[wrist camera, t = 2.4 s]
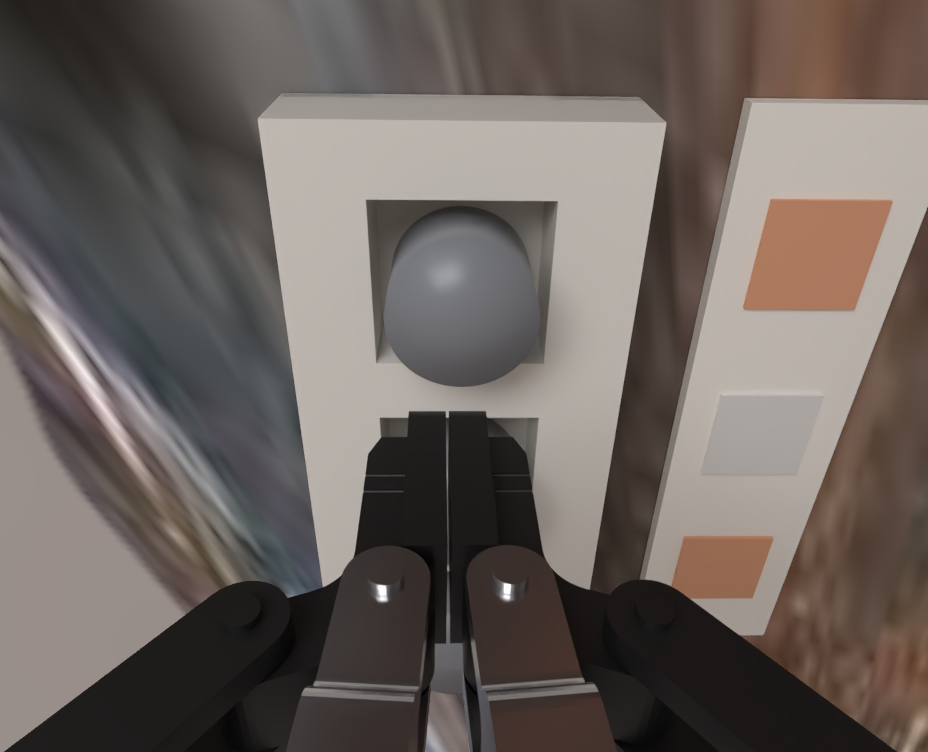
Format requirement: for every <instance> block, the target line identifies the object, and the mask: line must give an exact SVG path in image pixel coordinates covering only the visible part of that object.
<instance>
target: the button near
mask: <svg viewBox="0 0 928 752" xmlns="http://www.w3.org/2000/svg"><path fill="white" fill-rule="evenodd" d="M539 327H540V307H539V302H538V297H537V293H536V289H535V284H534V280H533V276H532V271H531V267H530V263H529V258H528V255H527V251H526V248H525V246H524V244H523V241H522V240H521V238H520V237H519V235H518V233H517V232H516V231H515V230H514V229H513V228H512V226H510V225H509V224H508V223H507V222H506V221H505V220H503V219H502V218H500V217H499V216H497V215H495V214H493V213H491V212H489V211H486V210H483V209H480V208H476V207H470V206H452V207H446V208H442V209H438V210H435V211H433V212H431V213H428V214H426V215H425V216H423V217H421V218H420V219H418V220H417V221H416V222H415V223H413V224H412V225H411V226H410V227H409V228H408V229H407V230H406V232H405V233H404V234H403V236H402V237H401V239H400V240H399V242H398V245H397V247H396V249H395V252H394V255H393V261H392V267H391V273H390V279H389V285H388V291H387V297H386V303H385V309H384V328H385V333H386V336H387V340H388V342H389V344H390V346H391V348H392V350H393V352H394V353H395V355H396V356H397V357H398V359H399V360H400V361H401V362H402V363H403V364H404V365H405V366H406V367H407V368H408V369H410V370H411V371H412V372H414V373H415V374H417V375H418V376H420V377H422V378H424V379H426V380H429V381H431V382H434V383H437V384H441V385H446V386H452V387H471V386H477V385H482V384H486V383H489V382H492V381H494V380H497V379H499V378H501V377H503V376H505V375H507V374H508V373H509V372H511V371H512V370H514V369H515V368H516V367H517V366H518V365H519V364H520V363H522V361H523V360H524V359H525V358H526V357H527V356H528V354H529V352H530V351H531V349H532V348H533V346H534V344H535V341H536V339H537V336H538V333H539Z"/></svg>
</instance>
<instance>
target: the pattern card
mask: <svg viewBox="0 0 928 752" xmlns="http://www.w3.org/2000/svg"><path fill="white" fill-rule="evenodd" d="M927 207H928V100H869V99H780V98H744V103H743V107H742V112H741V117H740V121H739V126H738V130H737V135H736V139H735V144H734V149H733V153H732V158H731V162H730V167H729V171H728V176H727V181H726V185H725V190H724V194H723V199H722V203H721V208H720V213H719V217H718V222H717V226H716V231H715V236H714V240H713V245H712V249H711V254H710V258H709V263H708V268H707V272H706V277H705V281H704V286H703V290H702V295H701V300H700V304H699V309H698V313H697V318H696V322H695V327H694V332H693V336H692V341H691V345H690V350H689V354H688V359H687V364H686V368H685V373H684V377H683V382H682V386H681V391H680V396H679V400H678V405H677V409H676V414H675V418H674V423H673V428H672V432H671V437H670V441H669V446H668V451H667V455H666V460H665V464H664V469H663V473H662V478H661V483H660V487H659V492H658V496H657V501H656V505H655V510H654V515H653V519H652V524H651V528H650V533H649V537H648V542H647V547H646V551H645V556H644V560H643V565H642V569H641V574H640V579H639V580H653V581H658V582H661V583H664V584H667V585H669V586H671V587H673V588H675V589H677V590H678V591H680V592H681V593H683V594H684V595H686V596H687V597H688V598H690V599H691V600H692V601H694V602H695V603H696V604H698V605H699V606H700V607H702V608H703V609H704V610H706V611H707V612H709V613H710V614H711V615H713V616H714V617H715V618H717V619H718V620H719V621H721V622H722V623H723V624H725V625H726V626H727V627H729V628H730V629H732V630H733V631H734V632H736V633H737V634H738V635H764V633H765V630H766V627H767V625H768V622H769V619H770V617H771V614H772V612H773V609H774V606H775V604H776V601H777V599H778V596H779V593H780V591H781V588H782V586H783V583H784V580H785V578H786V575H787V572H788V570H789V567H790V565H791V562H792V559H793V557H794V554H795V552H796V549H797V546H798V544H799V541H800V538H801V536H802V533H803V531H804V528H805V525H806V523H807V520H808V518H809V515H810V512H811V510H812V507H813V505H814V502H815V499H816V497H817V494H818V491H819V489H820V486H821V484H822V481H823V478H824V476H825V473H826V471H827V468H828V465H829V463H830V460H831V458H832V455H833V452H834V450H835V447H836V444H837V442H838V439H839V437H840V434H841V431H842V429H843V426H844V424H845V421H846V418H847V416H848V413H849V411H850V408H851V405H852V403H853V400H854V397H855V395H856V392H857V390H858V387H859V384H860V382H861V379H862V377H863V374H864V371H865V369H866V366H867V364H868V361H869V358H870V356H871V353H872V350H873V348H874V345H875V343H876V340H877V337H878V335H879V332H880V330H881V327H882V324H883V322H884V319H885V317H886V314H887V311H888V309H889V306H890V303H891V301H892V298H893V296H894V293H895V290H896V288H897V285H898V283H899V280H900V277H901V275H902V272H903V270H904V267H905V264H906V262H907V259H908V256H909V254H910V251H911V249H912V246H913V243H914V241H915V238H916V236H917V233H918V230H919V228H920V225H921V223H922V220H923V217H924V215H925V212H926V209H927Z"/></svg>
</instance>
